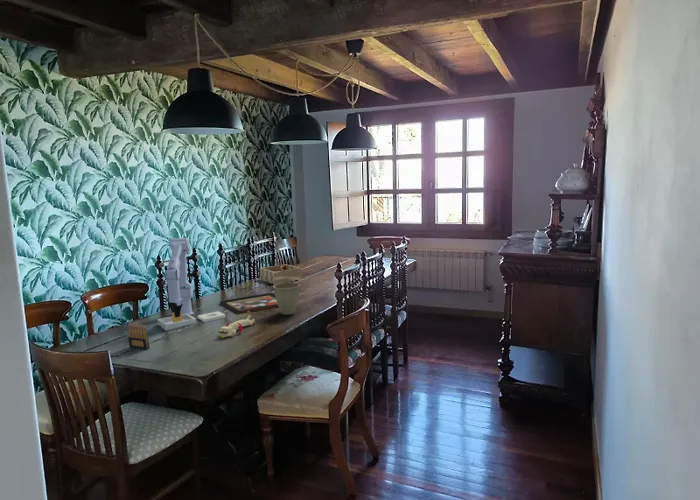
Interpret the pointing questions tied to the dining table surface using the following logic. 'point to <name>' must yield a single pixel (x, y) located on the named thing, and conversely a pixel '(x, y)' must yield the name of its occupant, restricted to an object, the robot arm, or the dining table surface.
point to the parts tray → (168, 322)
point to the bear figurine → (283, 268)
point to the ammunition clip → (138, 337)
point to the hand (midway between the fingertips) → (176, 316)
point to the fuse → (177, 318)
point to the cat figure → (235, 326)
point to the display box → (280, 274)
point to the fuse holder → (211, 316)
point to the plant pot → (287, 296)
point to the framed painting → (251, 303)
